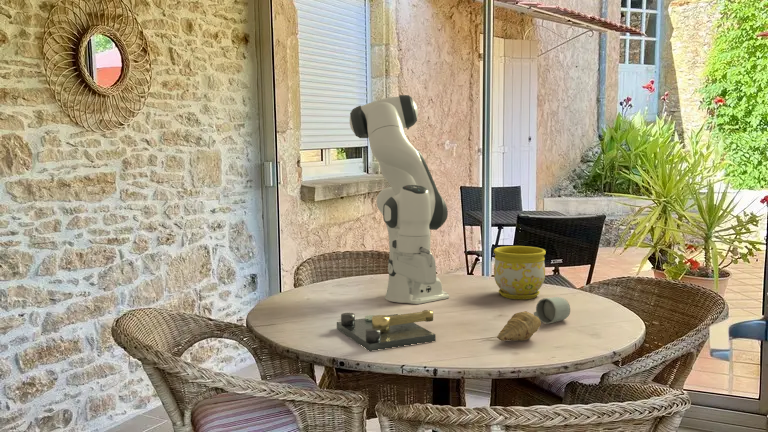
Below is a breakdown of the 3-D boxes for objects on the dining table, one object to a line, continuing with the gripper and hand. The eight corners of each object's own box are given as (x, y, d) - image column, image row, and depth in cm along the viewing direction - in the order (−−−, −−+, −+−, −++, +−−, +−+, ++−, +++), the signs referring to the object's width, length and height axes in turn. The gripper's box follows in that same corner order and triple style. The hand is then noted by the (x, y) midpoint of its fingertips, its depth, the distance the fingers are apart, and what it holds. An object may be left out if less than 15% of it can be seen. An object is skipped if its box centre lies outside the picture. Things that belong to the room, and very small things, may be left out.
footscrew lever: (376, 333, 189) (376, 320, 188) (369, 328, 193) (369, 316, 193) (436, 324, 197) (436, 312, 196) (428, 320, 201) (428, 308, 201)
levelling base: (397, 320, 210) (397, 304, 209) (435, 341, 188) (435, 323, 188) (336, 328, 201) (336, 312, 201) (369, 351, 180) (369, 333, 179)
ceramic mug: (572, 321, 207) (572, 296, 207) (555, 326, 202) (555, 300, 201) (544, 315, 216) (544, 291, 215) (527, 319, 211) (527, 295, 210)
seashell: (513, 350, 180) (513, 321, 179) (489, 343, 186) (489, 315, 185) (543, 339, 189) (544, 311, 188) (519, 333, 195) (520, 306, 194)
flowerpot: (555, 296, 239) (556, 250, 237) (519, 304, 229) (520, 256, 227) (518, 287, 254) (519, 244, 252) (482, 294, 243) (483, 249, 242)
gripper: (442, 249, 178) (441, 301, 179) (408, 239, 196) (407, 286, 198) (421, 251, 175) (420, 303, 177) (388, 240, 194) (388, 288, 195)
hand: (413, 294), depth 187 cm, fingers closed
